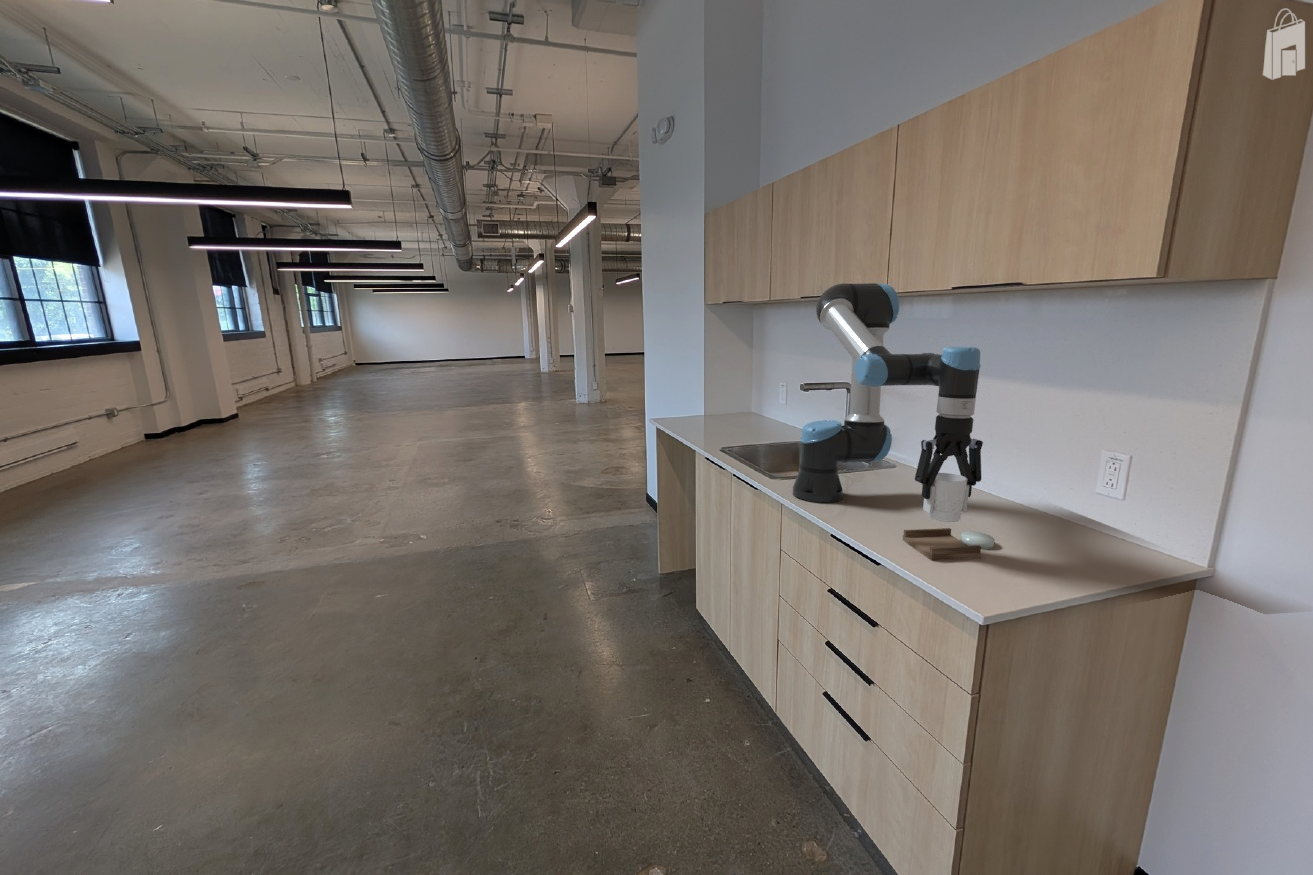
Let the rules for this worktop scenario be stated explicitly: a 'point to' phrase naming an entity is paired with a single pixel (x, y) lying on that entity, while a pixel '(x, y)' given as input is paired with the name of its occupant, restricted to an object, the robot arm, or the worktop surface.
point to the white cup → (948, 497)
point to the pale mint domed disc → (978, 539)
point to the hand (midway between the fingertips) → (944, 510)
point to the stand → (940, 544)
